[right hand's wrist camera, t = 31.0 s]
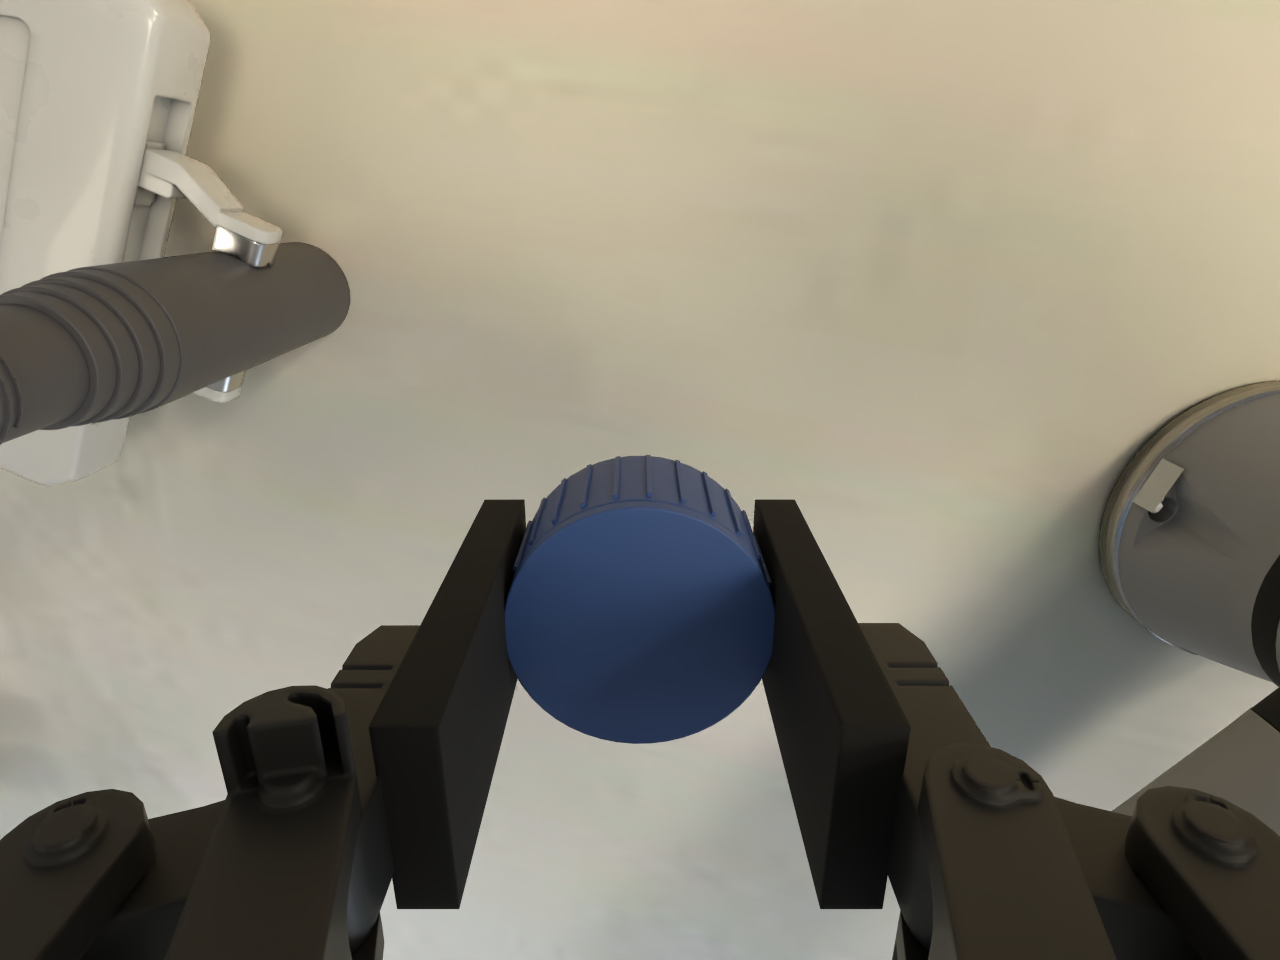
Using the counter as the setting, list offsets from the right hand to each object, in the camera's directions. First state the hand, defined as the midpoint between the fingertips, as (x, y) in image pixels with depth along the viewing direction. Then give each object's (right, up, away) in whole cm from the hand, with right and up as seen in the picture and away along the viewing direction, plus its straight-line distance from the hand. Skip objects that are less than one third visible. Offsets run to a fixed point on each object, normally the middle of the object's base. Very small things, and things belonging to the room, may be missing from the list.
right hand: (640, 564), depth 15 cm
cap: (0, -1, -2) cm, 2 cm away
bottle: (-16, +11, +22) cm, 30 cm away
